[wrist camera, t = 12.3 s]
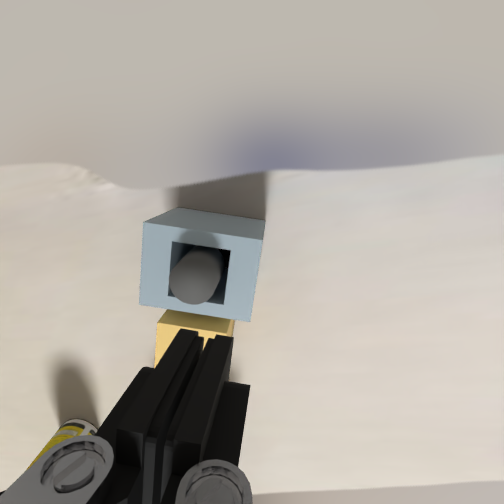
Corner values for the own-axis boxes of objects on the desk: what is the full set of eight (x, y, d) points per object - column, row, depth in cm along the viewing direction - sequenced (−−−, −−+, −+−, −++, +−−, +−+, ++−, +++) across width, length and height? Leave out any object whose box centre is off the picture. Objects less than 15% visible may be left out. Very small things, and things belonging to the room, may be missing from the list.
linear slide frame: (265, 220, 29) (262, 243, 20) (227, 470, 36) (212, 565, 28) (177, 207, 29) (136, 224, 20) (158, 458, 37) (122, 549, 28)
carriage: (238, 291, 30) (226, 333, 23) (230, 346, 32) (217, 404, 24) (186, 283, 30) (157, 322, 23) (181, 338, 32) (152, 393, 24)
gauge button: (227, 248, 24) (218, 263, 20) (222, 285, 24) (212, 308, 21) (187, 241, 24) (170, 256, 20) (183, 279, 24) (167, 300, 21)
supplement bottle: (53, 434, 37) (-10, 510, 29) (75, 410, 36) (16, 482, 27) (86, 458, 37) (35, 540, 29) (109, 435, 36) (62, 513, 28)
